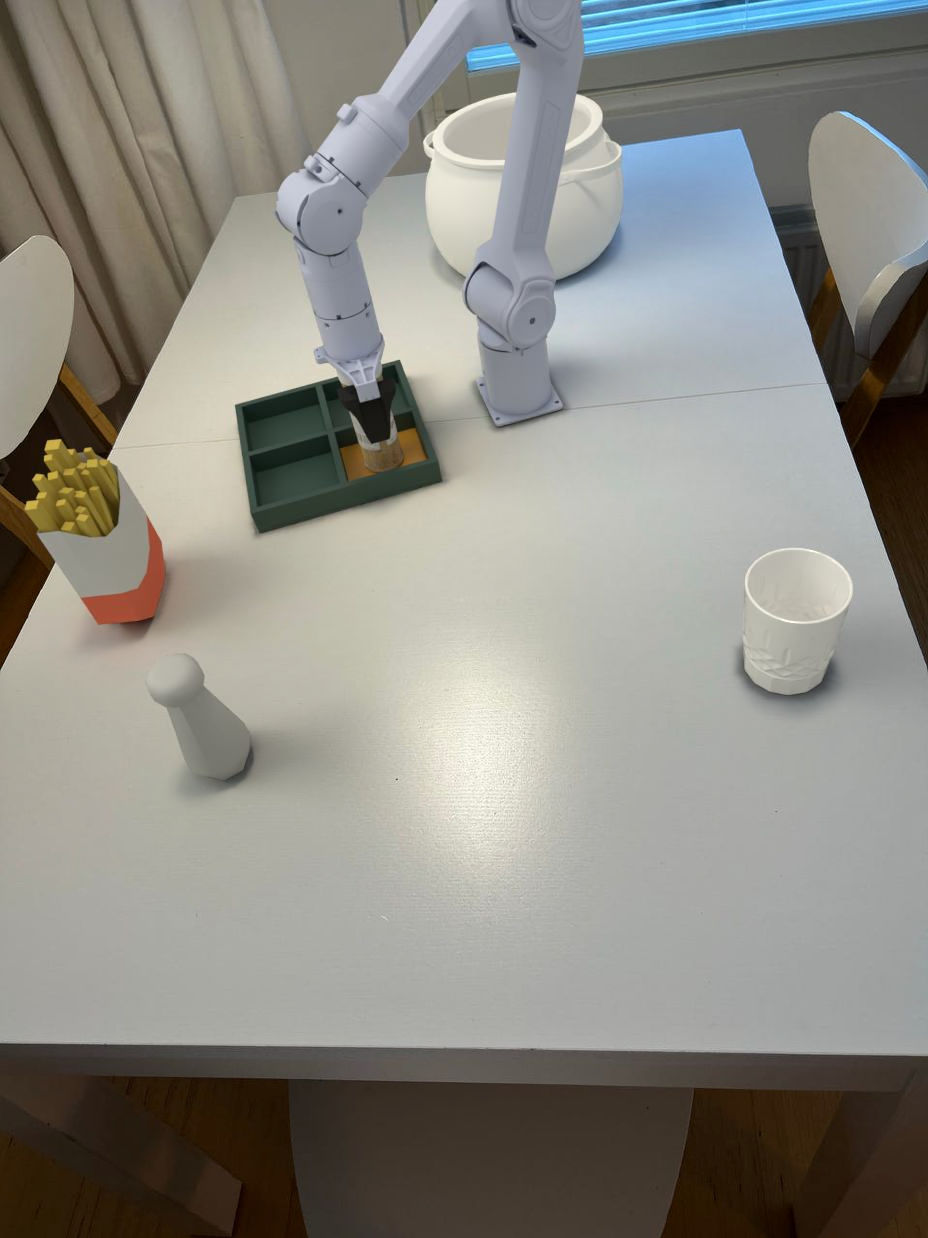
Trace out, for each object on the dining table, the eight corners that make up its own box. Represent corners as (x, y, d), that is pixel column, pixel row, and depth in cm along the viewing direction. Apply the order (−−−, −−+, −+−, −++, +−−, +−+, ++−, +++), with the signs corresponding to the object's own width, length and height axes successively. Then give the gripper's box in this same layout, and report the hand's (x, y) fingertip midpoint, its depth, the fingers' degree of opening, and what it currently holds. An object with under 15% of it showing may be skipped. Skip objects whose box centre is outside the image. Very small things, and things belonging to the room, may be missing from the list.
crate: (242, 423, 114) (234, 404, 111) (404, 379, 115) (399, 358, 113) (259, 533, 100) (250, 513, 98) (442, 481, 101) (438, 460, 99)
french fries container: (174, 557, 100) (100, 421, 86) (152, 636, 92) (68, 500, 79) (133, 562, 100) (53, 427, 87) (108, 641, 93) (17, 506, 79)
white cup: (837, 636, 80) (857, 554, 73) (829, 710, 76) (849, 631, 68) (743, 621, 83) (752, 541, 75) (729, 692, 78) (737, 614, 71)
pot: (392, 276, 131) (365, 157, 119) (495, 189, 144) (481, 73, 132) (568, 317, 118) (559, 188, 106) (665, 218, 131) (667, 92, 118)
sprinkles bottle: (412, 461, 103) (386, 356, 93) (376, 480, 102) (347, 376, 92) (391, 442, 106) (364, 338, 96) (356, 460, 105) (325, 357, 95)
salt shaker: (197, 737, 84) (137, 645, 74) (260, 727, 83) (208, 634, 73) (190, 794, 80) (126, 705, 70) (256, 784, 79) (201, 693, 70)
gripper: (292, 278, 94) (327, 390, 104) (311, 354, 84) (348, 470, 95) (360, 260, 94) (388, 373, 105) (387, 333, 85) (415, 451, 95)
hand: (373, 418), depth 100 cm, fingers open, 7 cm apart
